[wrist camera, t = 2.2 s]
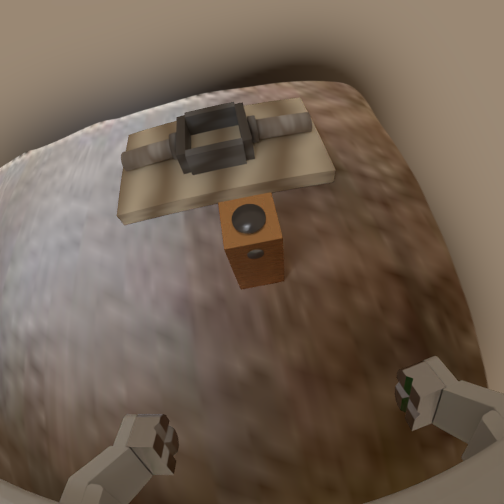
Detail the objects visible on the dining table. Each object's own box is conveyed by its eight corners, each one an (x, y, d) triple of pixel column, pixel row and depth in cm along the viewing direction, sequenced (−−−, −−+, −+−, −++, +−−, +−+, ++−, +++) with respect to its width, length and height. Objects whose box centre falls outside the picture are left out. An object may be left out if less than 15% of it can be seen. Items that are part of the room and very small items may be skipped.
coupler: (241, 290, 27) (223, 249, 20) (234, 250, 29) (217, 199, 22) (284, 282, 27) (283, 237, 20) (275, 242, 29) (270, 189, 22)
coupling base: (124, 225, 32) (104, 200, 28) (134, 144, 39) (120, 119, 34) (333, 182, 32) (338, 150, 27) (300, 108, 38) (300, 79, 34)
